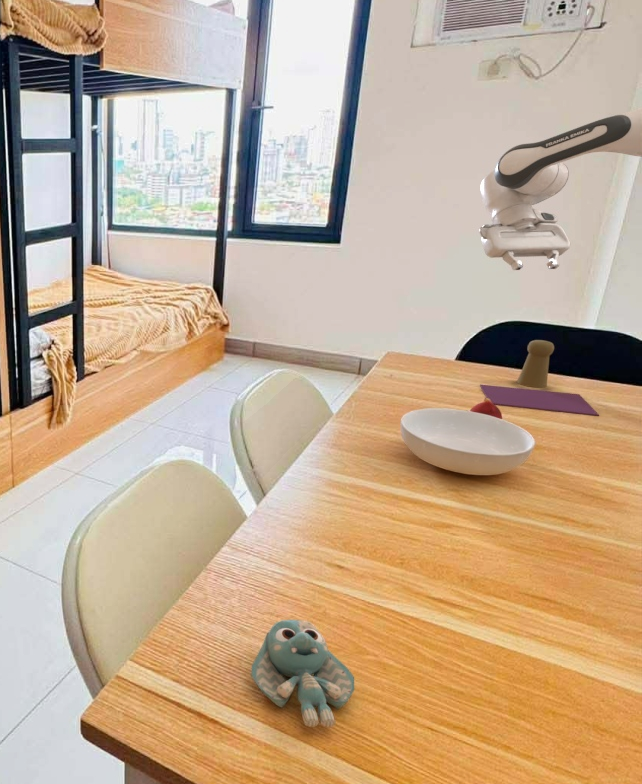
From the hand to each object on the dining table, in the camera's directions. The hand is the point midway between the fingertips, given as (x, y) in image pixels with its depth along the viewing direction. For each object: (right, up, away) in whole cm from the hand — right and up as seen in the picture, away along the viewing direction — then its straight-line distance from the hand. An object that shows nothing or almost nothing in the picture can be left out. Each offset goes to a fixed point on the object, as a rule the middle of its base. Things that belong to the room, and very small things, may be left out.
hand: (536, 268), depth 155 cm
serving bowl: (-45, -44, -39) cm, 74 cm away
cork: (0, -29, +1) cm, 29 cm away
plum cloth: (-8, -33, -9) cm, 35 cm away
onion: (-33, -40, -28) cm, 58 cm away
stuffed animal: (-93, -63, -88) cm, 143 cm away
